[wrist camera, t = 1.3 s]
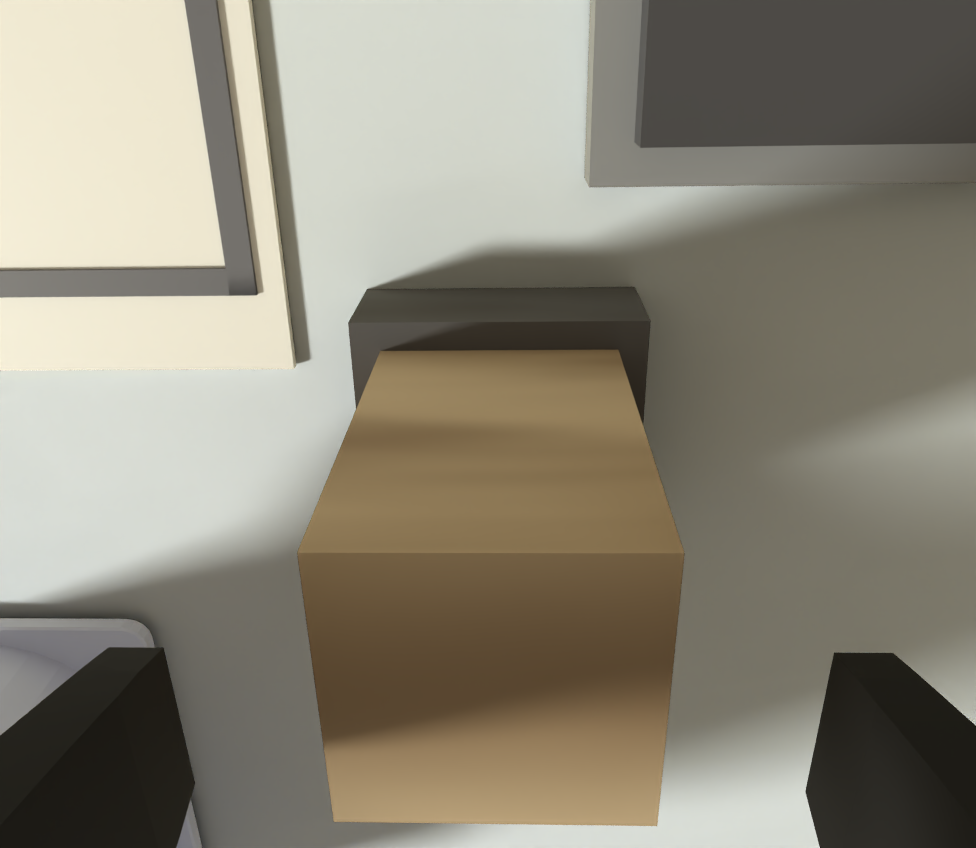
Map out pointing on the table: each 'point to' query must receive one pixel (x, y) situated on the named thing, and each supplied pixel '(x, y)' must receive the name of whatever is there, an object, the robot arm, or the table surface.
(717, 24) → the ink pad
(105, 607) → the table surface
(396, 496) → the stamp
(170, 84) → the marked card
